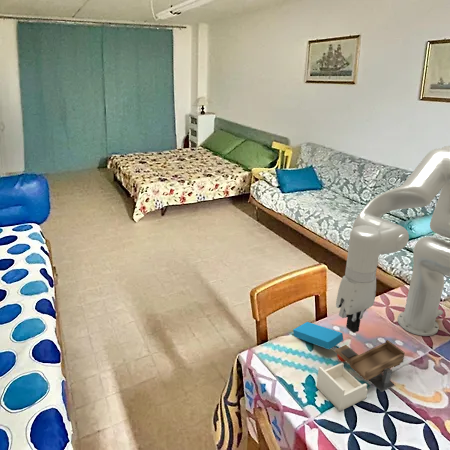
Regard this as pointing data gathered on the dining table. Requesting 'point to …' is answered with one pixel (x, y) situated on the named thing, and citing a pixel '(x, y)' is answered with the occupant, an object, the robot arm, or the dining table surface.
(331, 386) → the box
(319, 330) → the lever
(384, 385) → the stand
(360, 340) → the dining table surface
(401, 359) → the brown shallow tray
